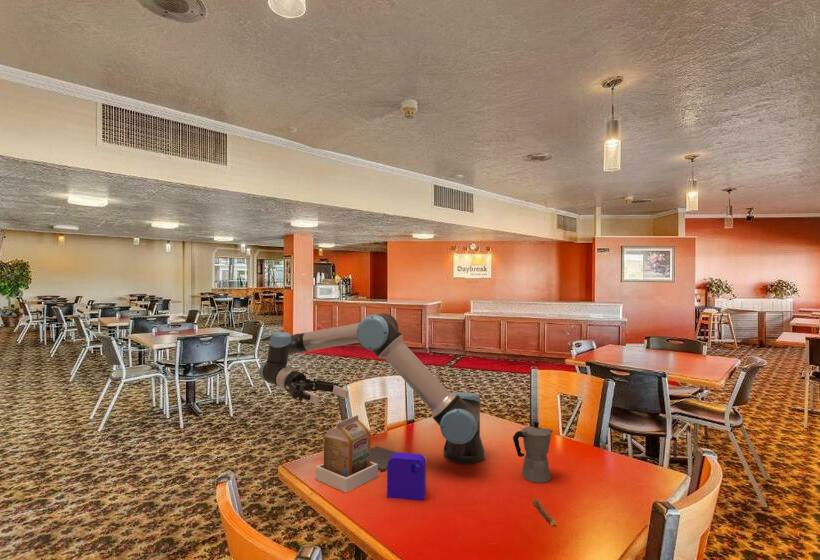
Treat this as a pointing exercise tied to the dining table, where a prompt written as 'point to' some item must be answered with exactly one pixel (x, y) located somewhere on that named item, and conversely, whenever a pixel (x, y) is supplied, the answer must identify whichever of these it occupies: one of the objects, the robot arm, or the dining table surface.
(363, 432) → the milk carton
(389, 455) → the rubber mat
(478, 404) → the robot arm
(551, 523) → the wooden stick
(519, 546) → the dining table surface
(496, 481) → the dining table surface
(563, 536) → the dining table surface
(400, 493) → the bracket
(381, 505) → the dining table surface
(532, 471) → the coffeepot
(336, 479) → the carton holder
